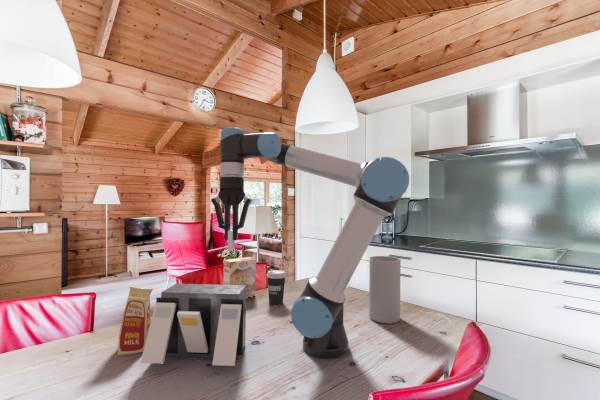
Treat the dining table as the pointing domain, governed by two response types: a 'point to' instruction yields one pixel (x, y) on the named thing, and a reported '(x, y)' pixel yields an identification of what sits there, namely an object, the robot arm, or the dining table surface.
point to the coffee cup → (276, 286)
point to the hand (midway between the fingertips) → (231, 250)
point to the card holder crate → (203, 315)
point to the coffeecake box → (241, 273)
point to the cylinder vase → (384, 289)
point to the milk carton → (135, 322)
